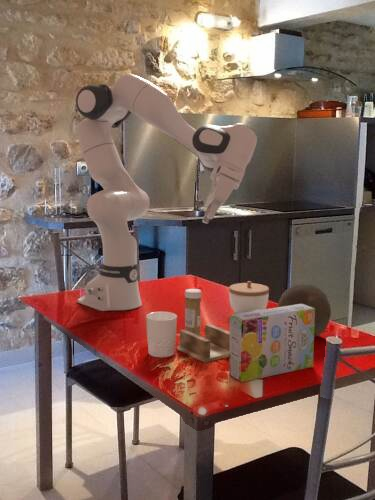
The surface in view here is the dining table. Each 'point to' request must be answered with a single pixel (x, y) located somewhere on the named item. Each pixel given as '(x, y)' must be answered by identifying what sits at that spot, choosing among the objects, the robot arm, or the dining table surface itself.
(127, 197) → the robot arm
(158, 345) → the white cup
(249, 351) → the snack box
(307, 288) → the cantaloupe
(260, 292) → the lidded white jar
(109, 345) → the dining table surface
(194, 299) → the sprinkles bottle
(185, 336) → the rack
